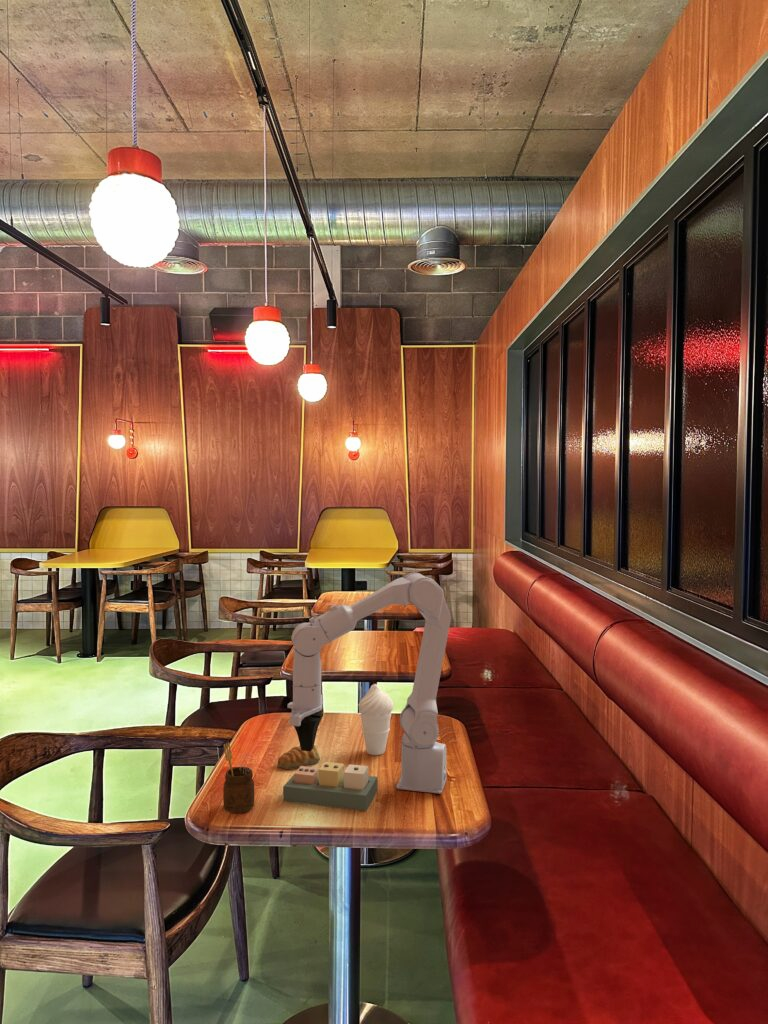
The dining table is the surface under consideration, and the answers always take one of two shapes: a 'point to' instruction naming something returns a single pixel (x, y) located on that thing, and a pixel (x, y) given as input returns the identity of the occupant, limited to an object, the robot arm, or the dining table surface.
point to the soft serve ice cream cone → (375, 719)
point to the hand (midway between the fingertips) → (307, 749)
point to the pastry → (298, 758)
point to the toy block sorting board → (330, 794)
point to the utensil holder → (238, 786)
